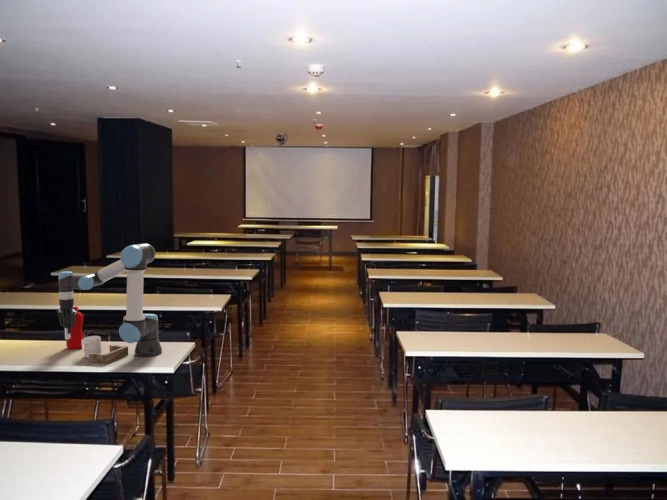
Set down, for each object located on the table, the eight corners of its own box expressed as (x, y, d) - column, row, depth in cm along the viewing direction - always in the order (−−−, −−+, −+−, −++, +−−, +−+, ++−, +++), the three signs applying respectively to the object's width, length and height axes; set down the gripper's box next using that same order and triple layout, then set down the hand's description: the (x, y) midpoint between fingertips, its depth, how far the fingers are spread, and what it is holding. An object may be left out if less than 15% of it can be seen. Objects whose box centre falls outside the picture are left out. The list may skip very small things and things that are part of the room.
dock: (128, 354, 336) (127, 346, 335) (106, 364, 318) (105, 355, 317) (112, 353, 339) (111, 344, 338) (89, 362, 321) (89, 353, 320)
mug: (104, 355, 334) (104, 336, 333) (93, 359, 326) (92, 340, 325) (88, 353, 338) (87, 334, 337) (76, 357, 330) (75, 338, 329)
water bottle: (79, 344, 358) (77, 304, 355) (86, 347, 350) (84, 306, 348) (63, 347, 352) (61, 306, 349) (70, 350, 344) (68, 309, 341)
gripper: (80, 298, 335) (81, 338, 337) (62, 296, 338) (63, 336, 341) (71, 300, 327) (72, 341, 330) (52, 298, 331) (53, 339, 334)
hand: (67, 338), depth 336 cm, fingers closed
